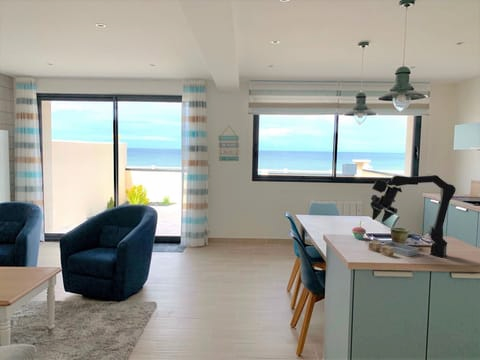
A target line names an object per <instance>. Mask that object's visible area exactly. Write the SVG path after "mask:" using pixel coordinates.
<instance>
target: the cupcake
mask: <svg viewBox="0 0 480 360" xmlns="http://www.w3.org/2000/svg"><path fill="white" fill-rule="evenodd" d="M351 233H352V234H353V236H354V238H355V239H357V240H362V239H363V238H364V236H365V235H366V234H367V230H366V228H363V227H362V220H360V221H359V226H356V227H354V228H352V229H351Z"/></svg>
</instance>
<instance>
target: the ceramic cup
mask: <svg viewBox="0 0 480 360" xmlns="http://www.w3.org/2000/svg"><path fill="white" fill-rule="evenodd" d="M409 232H410V229H408V228H404V227H403V228H402V227H396V226H395V227H391V228H390V235H391V236H390V237H391V242H396V243H400V244H404V245H407V241H408V236H409Z"/></svg>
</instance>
